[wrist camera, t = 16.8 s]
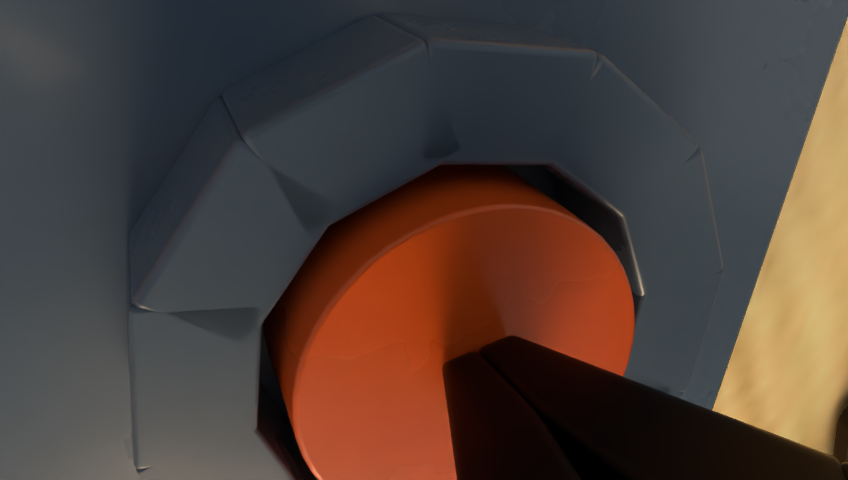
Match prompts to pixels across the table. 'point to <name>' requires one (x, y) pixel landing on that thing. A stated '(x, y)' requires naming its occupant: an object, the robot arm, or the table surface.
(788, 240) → the table surface
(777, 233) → the table surface
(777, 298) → the table surface
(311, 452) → the button
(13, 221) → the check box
